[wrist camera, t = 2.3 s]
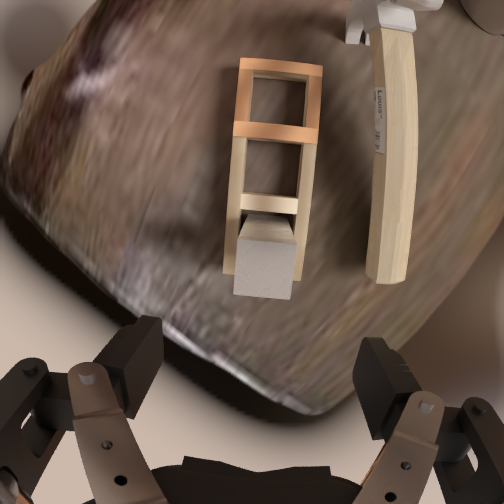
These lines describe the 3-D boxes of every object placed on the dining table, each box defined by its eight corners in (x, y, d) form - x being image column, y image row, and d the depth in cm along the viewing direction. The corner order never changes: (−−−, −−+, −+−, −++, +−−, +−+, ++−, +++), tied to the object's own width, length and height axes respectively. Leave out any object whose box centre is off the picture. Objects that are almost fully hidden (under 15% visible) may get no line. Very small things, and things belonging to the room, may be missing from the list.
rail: (318, 74, 27) (322, 65, 25) (298, 272, 33) (300, 282, 30) (242, 66, 27) (240, 57, 25) (225, 265, 33) (222, 274, 31)
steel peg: (286, 217, 32) (297, 244, 20) (282, 253, 33) (289, 299, 21) (248, 213, 32) (237, 238, 20) (245, 250, 33) (233, 294, 21)
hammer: (431, 314, 24) (443, -36, 9) (387, 321, 24) (387, -52, 10) (379, 238, 37) (375, 7, 23) (346, 240, 38) (337, 3, 24)
